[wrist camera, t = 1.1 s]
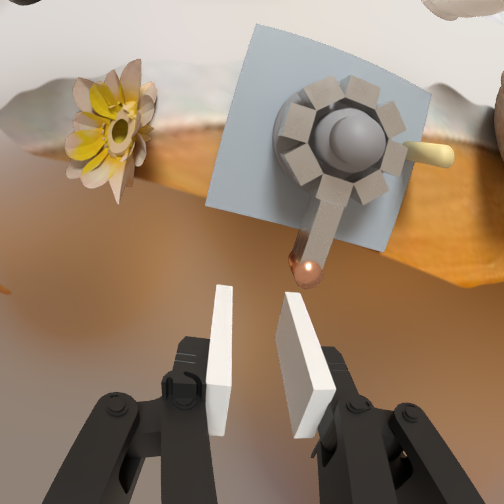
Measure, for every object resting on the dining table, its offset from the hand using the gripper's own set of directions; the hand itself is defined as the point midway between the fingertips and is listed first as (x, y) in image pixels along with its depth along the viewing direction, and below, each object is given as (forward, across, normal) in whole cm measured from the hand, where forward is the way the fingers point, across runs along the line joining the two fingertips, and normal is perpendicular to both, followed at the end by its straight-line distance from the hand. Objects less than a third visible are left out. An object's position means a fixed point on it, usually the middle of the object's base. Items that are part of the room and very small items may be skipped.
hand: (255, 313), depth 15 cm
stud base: (+23, +8, +10) cm, 26 cm away
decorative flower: (+23, -16, +9) cm, 29 cm away
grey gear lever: (+18, +8, +5) cm, 20 cm away
